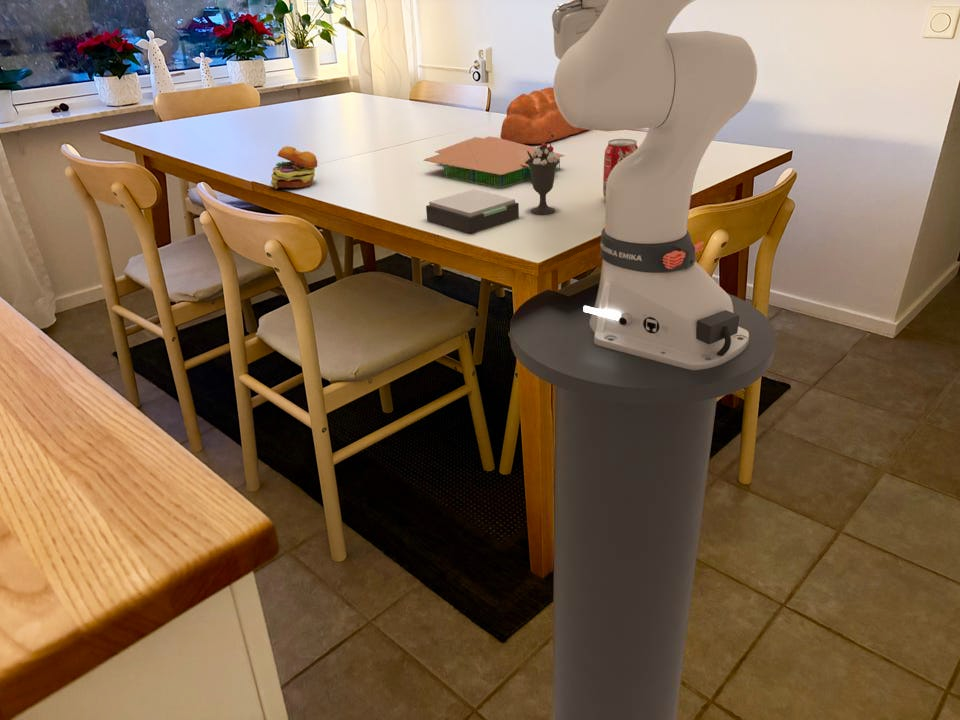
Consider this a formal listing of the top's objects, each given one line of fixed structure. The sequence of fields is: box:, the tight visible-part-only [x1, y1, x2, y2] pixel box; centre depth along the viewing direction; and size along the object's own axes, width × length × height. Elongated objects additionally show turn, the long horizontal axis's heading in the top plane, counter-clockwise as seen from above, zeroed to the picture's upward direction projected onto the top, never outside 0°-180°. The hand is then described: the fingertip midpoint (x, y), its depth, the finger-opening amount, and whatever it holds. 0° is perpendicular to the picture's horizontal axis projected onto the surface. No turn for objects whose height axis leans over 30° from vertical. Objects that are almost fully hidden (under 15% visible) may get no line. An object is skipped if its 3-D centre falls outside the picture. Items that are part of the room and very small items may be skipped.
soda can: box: [602, 138, 639, 200], centre depth 152 cm, size 7×7×12 cm
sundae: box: [525, 135, 561, 215], centre depth 146 cm, size 7×7×15 cm
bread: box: [499, 86, 588, 145], centre depth 215 cm, size 16×31×13 cm, turn 140°
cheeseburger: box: [270, 145, 318, 190], centre depth 176 cm, size 10×11×10 cm
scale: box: [425, 188, 520, 234], centre depth 146 cm, size 13×13×4 cm
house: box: [423, 136, 565, 189], centre depth 180 cm, size 23×33×8 cm
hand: (609, 72), depth 138 cm, fingers open, 8 cm apart
